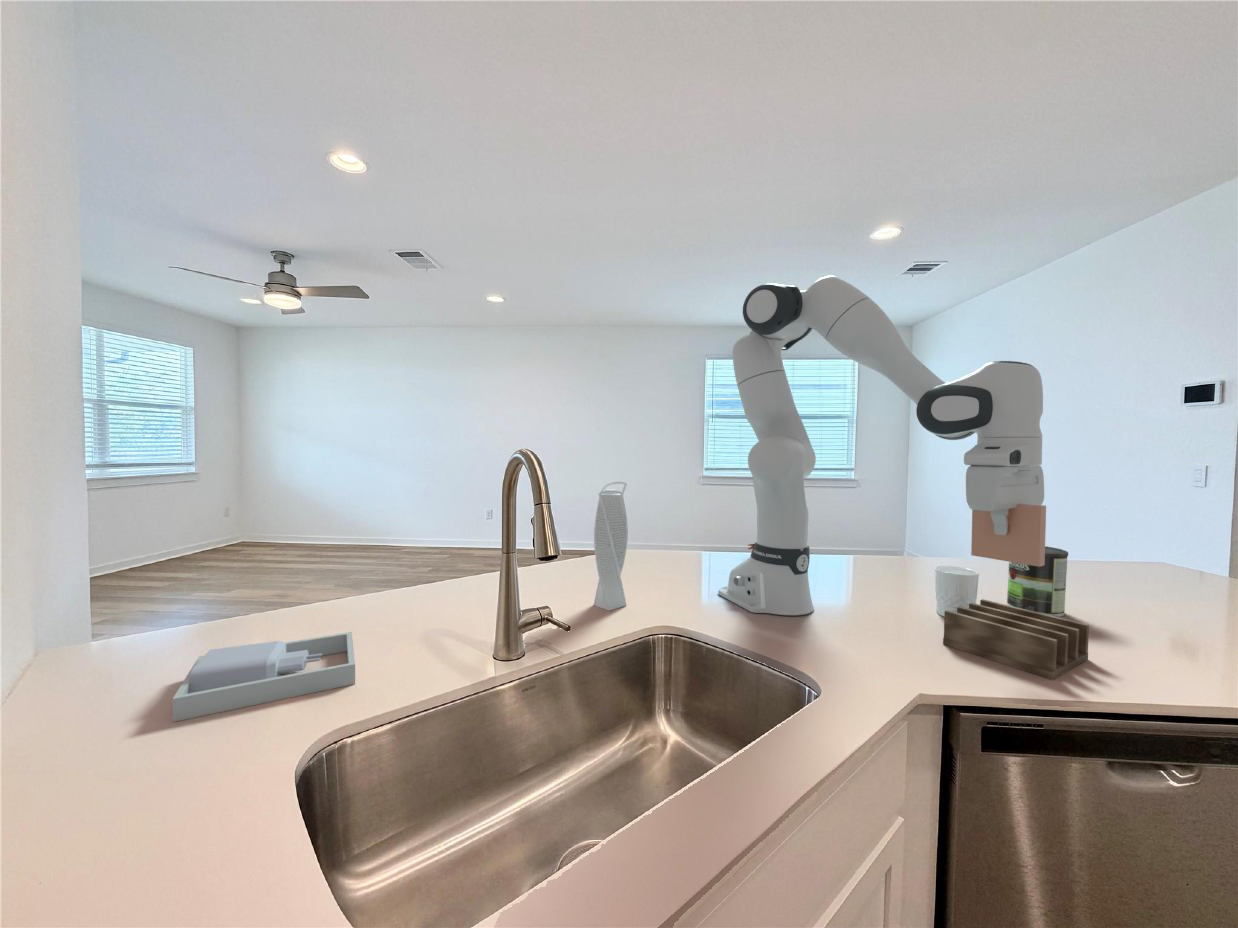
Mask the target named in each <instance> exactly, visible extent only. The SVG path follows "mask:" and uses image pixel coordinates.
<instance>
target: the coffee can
mask: <svg viewBox="0 0 1238 928" xmlns="http://www.w3.org/2000/svg"><path fill="white" fill-rule="evenodd" d="M1068 556H1069V551H1067V550H1064V549H1062V548H1061V549H1060V548H1058V547H1051V546H1046V545H1045V565H1044V566H1040V567H1038V566H1032V565H1026V564H1020V563H1014V562H1008V576H1007V594H1006V595H1007V597H1006V598H1007V599H1006V605H1009V606H1013V607H1017V608H1022V609H1026V610H1030V611H1034V612H1038V613H1043V614H1047V615H1051V616H1055V617H1059V618H1062V617H1064V616H1065V615H1066V613H1065V610H1066V592H1067V591H1066V588H1067V573H1068V572H1067V571H1068V570H1067V569H1068Z"/></svg>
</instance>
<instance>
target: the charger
mask: <svg viewBox="0 0 1238 928" xmlns="http://www.w3.org/2000/svg"><path fill="white" fill-rule="evenodd" d="M308 654H309V652H308V650H303V651H295V652H288V653H286V643H285V642H284V641H281V640H275V641H267V642H266V641H265V642H259V643H252V644H251V643H250V644H243V645H236V646H228V647H226V646H225V647H219V648H211V649H209V650H208V651H207V652H206V653H205V656H204V655H203V656H204V657H203V658H202V659H201V660H200V661H199V662H198V663H197V664H196V665H195V666H194V668H193V669H192V668H191V669H192V671H191V673H190V678H189V679H190V693H194V692H200V691H205V690H210V689H215V688H221V687H226V686H231V685H237V684H242V683H247V682H252V681H258V680H263V679H268V678H274V677H279V676H283V674H287V673H294V672H299V671H300V672H301V671H305V670H306V667H307V664H308V663H311V662H312V663H313V662H319V661H321V657H322V653H321V654H314V655H308Z"/></svg>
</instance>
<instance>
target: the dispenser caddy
mask: <svg viewBox="0 0 1238 928" xmlns="http://www.w3.org/2000/svg"><path fill="white" fill-rule="evenodd" d="M352 632H353V631H350V632H349V631H347V632H343V633H336V634H330V635H324V636H317V637H310V638H305V639H298V640H297V639H296V640H293V641H286V642H284V643H286V653H288V652H295V651H303V650H308V652H309V654H308V655H314V654H321V653H322V656H328V655H334V654H338V653H345V652H346V659H347V663H343V664H338V665H334V666H333V665H331V666H328V667H322V668H318V669H313V670H311V669H310V670H307V671H305V670H304V671H302V672H301V671H300V672H295V673H289V674H284V675H281V676H279V677H274V678H268V679H263V680H258V681H252V682H247V683H242V684H237V685H231V686H226V687H221V688H215V689H210V690H205V691H200V692H194V693H190V679H189V678H190V673H191V671H192V669H193V668H194V666H195V665H196V664H197V663H198V662H199V661H200V660H201V659H202V658H203V657H204V656H205V655H206V654H205V655H199V656H198V658H197V659H196V660H195V662H194V663H193V665H192V667H191V669H190V670H189V672H188V673H187V675H186V676H185V679H184V680H183V682H182V683H181V684H180V686H179V688H178V690H177V691H176V693H175V694H174V696H173V698H172V700H171V701H172V722H173V723H175V722H179V721H185V720H190V719H193V718H194V719H195V718H198V717H203V716H209V715H214V714H218V713H222V712H228V711H231V710H236V709H241V708H246V707H251V706H255V705H260V704H266V703H270V702H271V703H272V702H275V701H281V700H285V699H290V698H294V697H299V696H304V695H309V694H313V693H318V692H324V691H328V690H333V689H337V688H342V687H348V686H352V685H356V660H355V652H354V651H355V650H354V649H355V648H354V642H353V641H354V640H353V633H352ZM322 656H321V657H322Z"/></svg>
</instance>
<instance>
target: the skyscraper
mask: <svg viewBox="0 0 1238 928" xmlns="http://www.w3.org/2000/svg"><path fill="white" fill-rule="evenodd" d="M614 485H623V488H622V490H621V491H619V490H618V489H616V488H615V489H613V488H608V487H610V486H614ZM626 487H627V483H626V482H625V481H624V482H623V481H614V482H611V483H607V484H605V486H603V488H602V489H601V491H600V492H599V493H598V503H597V506H596V507H597V508H596V514H595V520H594V527H593V528H594V529H593V531H594V532H593V543H594V544H593V546H594V555H595V562H596V564H595V565H596V570H597V574H598V583H597V587H596V593H595V597H594V602H593V606H595V607H598V608H601V609H603V610H606V611H612V610H616V609H619V608H623V607H627V606H628V605H627V604H628V603H627V601H626V596H625V592H624V587H623V582H622V577H621V575H622V571H623V568H624V565H625V558H626V555H627V554H626V553H627V547H628V538H629V537H628V533H629V531H628V528H629V527H628V518H627V511H626V510H627V509H626V505H625V500H624V493H625V490H626V489H627V488H626Z"/></svg>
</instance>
